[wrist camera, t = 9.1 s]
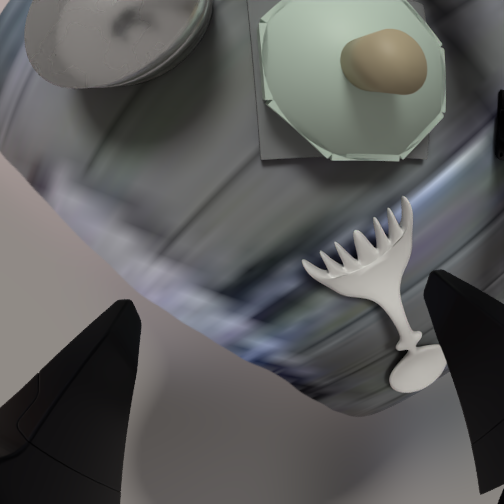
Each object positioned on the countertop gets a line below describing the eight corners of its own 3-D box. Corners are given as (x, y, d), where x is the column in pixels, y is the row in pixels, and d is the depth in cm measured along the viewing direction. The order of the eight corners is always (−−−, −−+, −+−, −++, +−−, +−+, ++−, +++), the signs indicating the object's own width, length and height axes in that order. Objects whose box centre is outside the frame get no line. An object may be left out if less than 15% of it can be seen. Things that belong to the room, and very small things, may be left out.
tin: (209, -57, 9) (200, -94, 4) (220, 69, 14) (211, 60, 10) (68, -14, 9) (29, -28, 5) (74, 104, 14) (30, 115, 10)
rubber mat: (418, 5, 11) (423, 4, 10) (422, 157, 17) (426, 159, 17) (245, -17, 11) (245, -20, 10) (260, 157, 17) (261, 160, 17)
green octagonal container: (421, 7, 10) (472, -5, 6) (424, 155, 16) (474, 182, 12) (251, -17, 10) (256, -57, 6) (266, 154, 17) (277, 183, 12)
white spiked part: (390, 179, 18) (414, 197, 16) (445, 359, 33) (454, 376, 30) (290, 243, 21) (298, 270, 18) (395, 388, 35) (401, 406, 32)
